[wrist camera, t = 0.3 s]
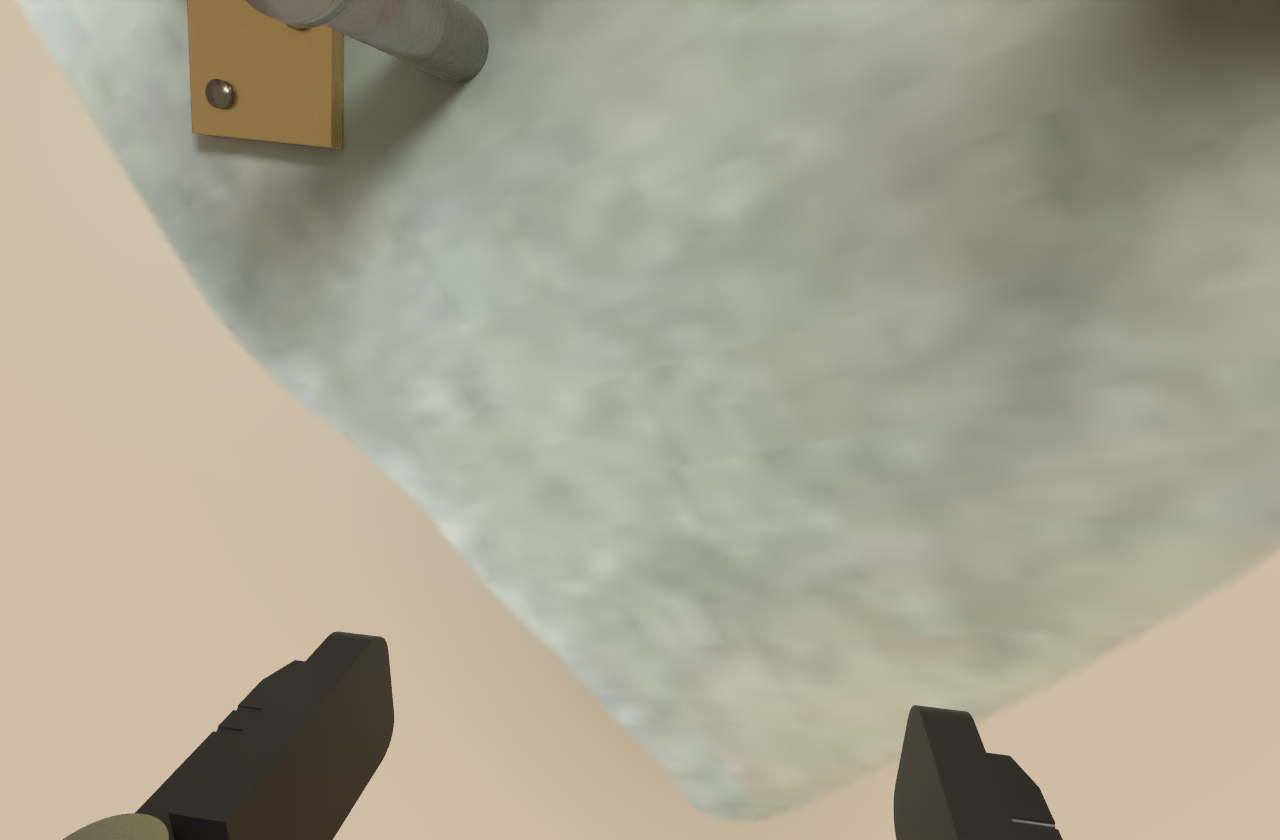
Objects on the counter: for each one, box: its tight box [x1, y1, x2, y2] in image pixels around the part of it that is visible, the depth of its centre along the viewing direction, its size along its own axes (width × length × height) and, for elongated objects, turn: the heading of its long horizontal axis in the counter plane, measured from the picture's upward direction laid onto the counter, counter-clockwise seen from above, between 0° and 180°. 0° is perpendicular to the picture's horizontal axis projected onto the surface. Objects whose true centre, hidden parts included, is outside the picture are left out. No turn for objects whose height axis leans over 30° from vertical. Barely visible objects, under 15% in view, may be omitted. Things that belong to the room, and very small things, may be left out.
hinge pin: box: [245, 0, 488, 83], centre depth 30 cm, size 4×4×13 cm
